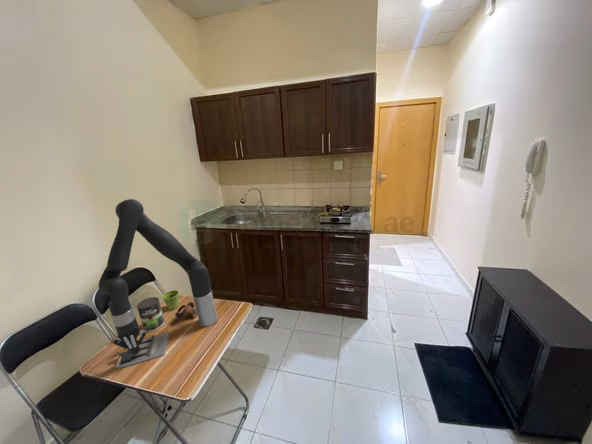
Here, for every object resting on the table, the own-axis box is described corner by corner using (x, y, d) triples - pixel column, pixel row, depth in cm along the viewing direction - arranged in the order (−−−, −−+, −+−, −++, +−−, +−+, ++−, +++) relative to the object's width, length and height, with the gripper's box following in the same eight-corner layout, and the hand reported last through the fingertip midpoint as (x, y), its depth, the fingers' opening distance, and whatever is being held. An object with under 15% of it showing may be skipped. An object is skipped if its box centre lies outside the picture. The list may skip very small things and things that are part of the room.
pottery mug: (194, 322, 133) (183, 313, 129) (181, 328, 136) (170, 320, 132) (201, 304, 143) (191, 296, 140) (190, 310, 146) (179, 302, 142)
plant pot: (185, 304, 150) (182, 292, 147) (170, 313, 142) (167, 300, 140) (176, 300, 154) (173, 288, 152) (161, 309, 147) (158, 296, 145)
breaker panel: (169, 335, 124) (168, 330, 123) (165, 354, 112) (163, 350, 111) (126, 347, 119) (124, 342, 118) (116, 369, 106) (114, 364, 105)
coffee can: (165, 326, 131) (158, 303, 127) (142, 334, 126) (135, 311, 123) (165, 316, 140) (159, 294, 136) (144, 323, 135) (137, 301, 132)
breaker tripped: (132, 356, 110) (128, 346, 109) (130, 359, 108) (127, 349, 107) (124, 358, 109) (120, 348, 108) (122, 362, 107) (119, 352, 106)
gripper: (144, 310, 110) (154, 342, 115) (110, 319, 106) (122, 352, 111) (140, 320, 103) (151, 353, 108) (103, 330, 99) (116, 364, 104)
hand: (136, 352), depth 109 cm, fingers closed
